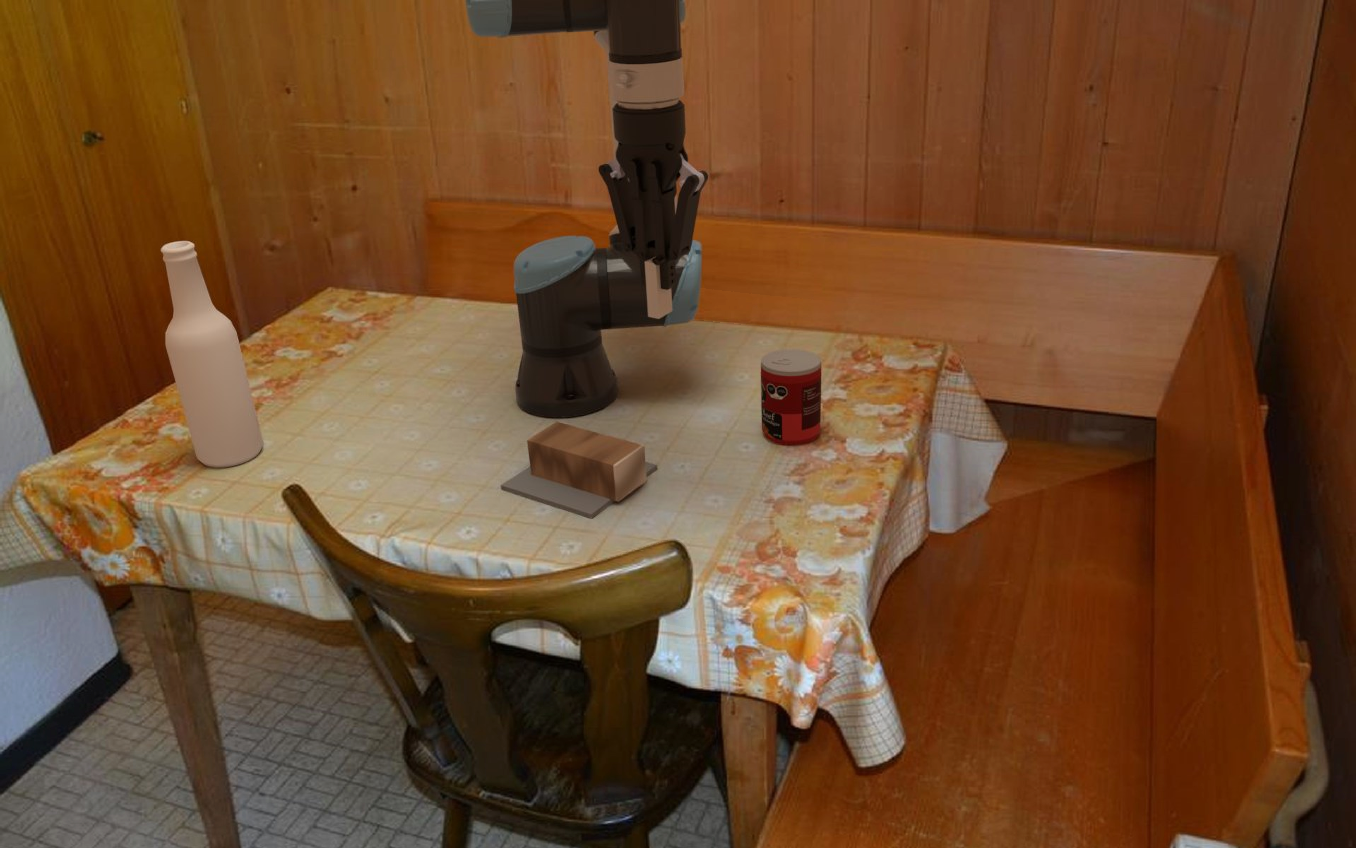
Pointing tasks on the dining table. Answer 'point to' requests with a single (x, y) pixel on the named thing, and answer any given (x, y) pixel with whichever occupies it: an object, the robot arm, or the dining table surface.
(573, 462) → the walnut block
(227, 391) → the alcohol
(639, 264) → the robot arm
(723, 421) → the dining table surface
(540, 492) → the mat
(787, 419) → the canned food
